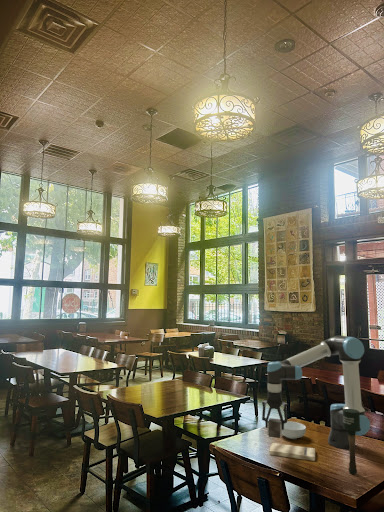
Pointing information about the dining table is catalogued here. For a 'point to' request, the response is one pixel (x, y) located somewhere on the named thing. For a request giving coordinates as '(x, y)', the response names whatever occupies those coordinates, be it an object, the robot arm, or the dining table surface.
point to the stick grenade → (351, 434)
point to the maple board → (292, 451)
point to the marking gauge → (274, 427)
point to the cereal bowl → (293, 430)
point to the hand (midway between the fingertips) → (274, 434)
